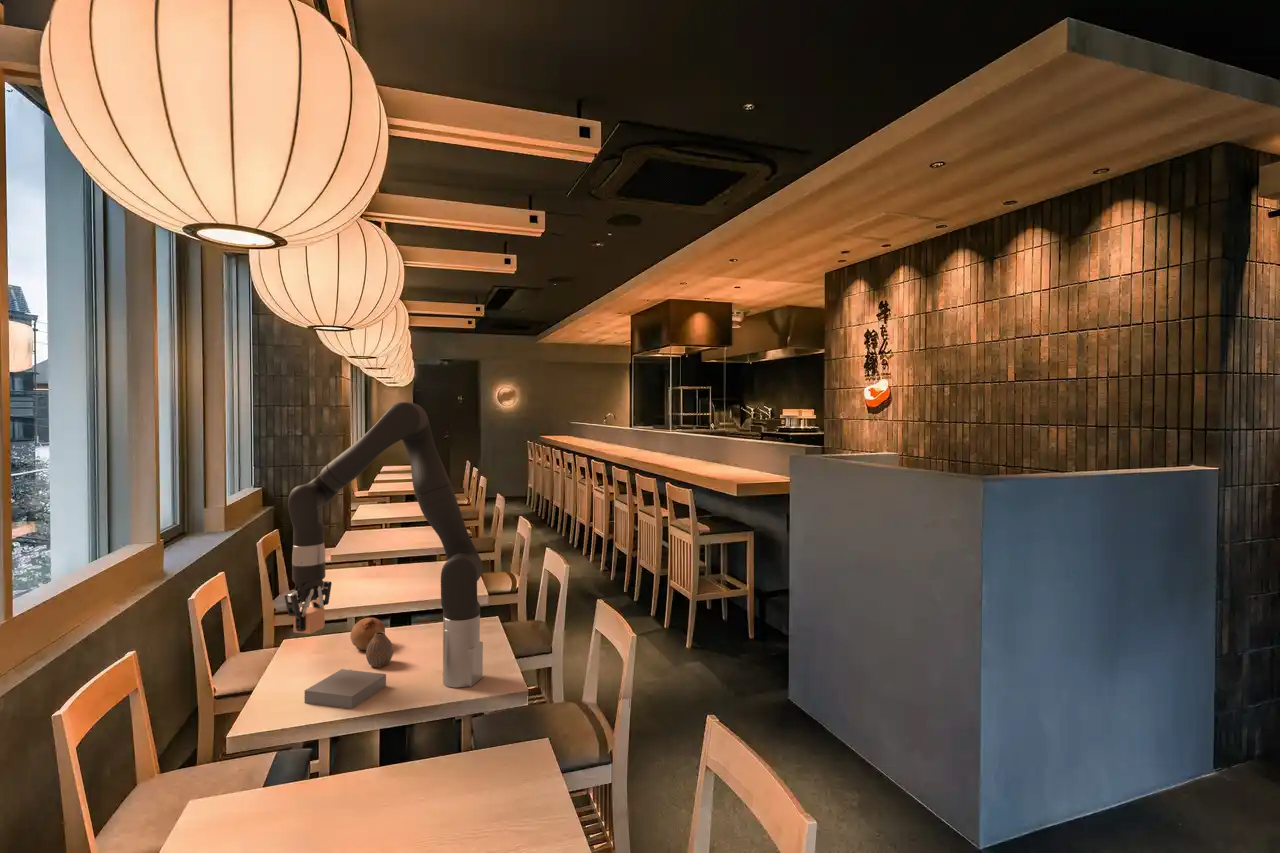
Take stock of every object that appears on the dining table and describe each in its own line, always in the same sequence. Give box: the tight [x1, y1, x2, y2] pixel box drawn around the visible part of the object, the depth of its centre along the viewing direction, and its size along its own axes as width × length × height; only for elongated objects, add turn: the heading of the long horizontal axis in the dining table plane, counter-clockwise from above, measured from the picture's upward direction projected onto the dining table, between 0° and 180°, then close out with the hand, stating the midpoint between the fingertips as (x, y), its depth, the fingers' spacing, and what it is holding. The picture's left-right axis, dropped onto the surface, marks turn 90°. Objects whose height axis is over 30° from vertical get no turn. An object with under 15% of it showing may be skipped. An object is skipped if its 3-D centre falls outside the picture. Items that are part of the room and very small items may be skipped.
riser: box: [304, 668, 387, 710], centre depth 153 cm, size 13×13×3 cm
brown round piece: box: [350, 617, 386, 651], centre depth 184 cm, size 10×9×10 cm
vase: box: [365, 632, 394, 668], centre depth 171 cm, size 7×7×9 cm
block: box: [292, 606, 326, 635], centre depth 159 cm, size 5×5×5 cm
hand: (309, 626), depth 159 cm, fingers closed on block, 5 cm apart
